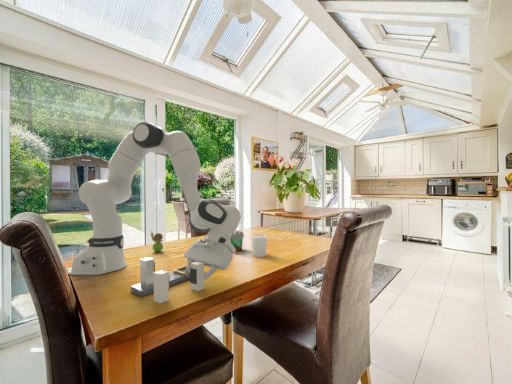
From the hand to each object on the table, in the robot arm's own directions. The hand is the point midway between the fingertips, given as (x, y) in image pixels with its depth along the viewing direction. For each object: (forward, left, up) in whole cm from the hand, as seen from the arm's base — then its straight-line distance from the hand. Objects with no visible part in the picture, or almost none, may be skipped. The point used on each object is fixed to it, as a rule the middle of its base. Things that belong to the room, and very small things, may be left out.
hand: (195, 275), depth 85 cm
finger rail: (-10, +8, -5) cm, 14 cm away
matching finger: (0, 0, -5) cm, 5 cm away
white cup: (+30, +38, -5) cm, 49 cm away
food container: (+20, +50, -5) cm, 54 cm away
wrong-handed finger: (-10, -7, -5) cm, 13 cm away
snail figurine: (-25, +55, -5) cm, 61 cm away
